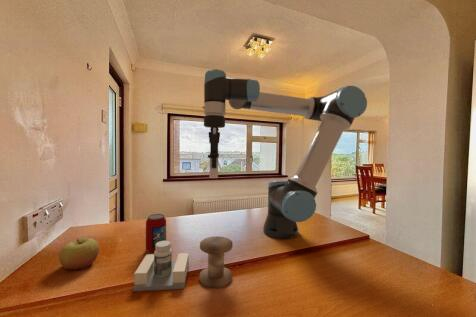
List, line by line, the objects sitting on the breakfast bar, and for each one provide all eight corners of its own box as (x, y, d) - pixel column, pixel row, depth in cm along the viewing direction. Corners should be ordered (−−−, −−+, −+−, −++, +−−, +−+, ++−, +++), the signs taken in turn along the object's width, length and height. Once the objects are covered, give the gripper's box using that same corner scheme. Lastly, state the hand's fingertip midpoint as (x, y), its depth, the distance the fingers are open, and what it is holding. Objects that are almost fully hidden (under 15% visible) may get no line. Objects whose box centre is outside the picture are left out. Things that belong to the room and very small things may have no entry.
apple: (65, 260, 68) (65, 235, 68) (101, 255, 72) (101, 231, 72) (53, 277, 59) (53, 248, 59) (95, 270, 63) (95, 243, 63)
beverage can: (159, 254, 73) (159, 219, 72) (141, 252, 74) (141, 218, 74) (169, 246, 79) (169, 214, 79) (153, 244, 81) (153, 212, 80)
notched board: (188, 264, 67) (189, 251, 67) (183, 288, 55) (183, 273, 55) (147, 265, 66) (147, 252, 66) (132, 291, 54) (133, 275, 54)
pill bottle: (158, 267, 63) (158, 239, 63) (174, 268, 63) (174, 240, 63) (151, 277, 58) (151, 246, 58) (168, 278, 58) (168, 247, 58)
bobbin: (230, 268, 65) (231, 236, 65) (233, 287, 56) (233, 249, 56) (200, 269, 64) (200, 236, 64) (198, 289, 55) (198, 250, 55)
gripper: (205, 120, 88) (204, 171, 89) (202, 108, 64) (201, 180, 64) (223, 121, 89) (222, 172, 90) (227, 109, 64) (226, 180, 65)
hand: (213, 175), depth 77 cm, fingers open, 13 cm apart
